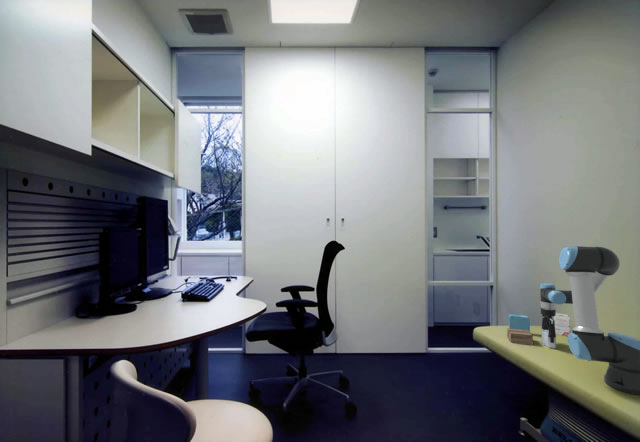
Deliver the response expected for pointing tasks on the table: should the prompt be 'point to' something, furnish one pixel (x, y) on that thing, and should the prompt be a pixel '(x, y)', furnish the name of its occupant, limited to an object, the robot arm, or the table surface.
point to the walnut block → (519, 336)
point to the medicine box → (546, 338)
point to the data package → (519, 322)
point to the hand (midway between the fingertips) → (548, 344)
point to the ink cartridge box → (562, 324)
